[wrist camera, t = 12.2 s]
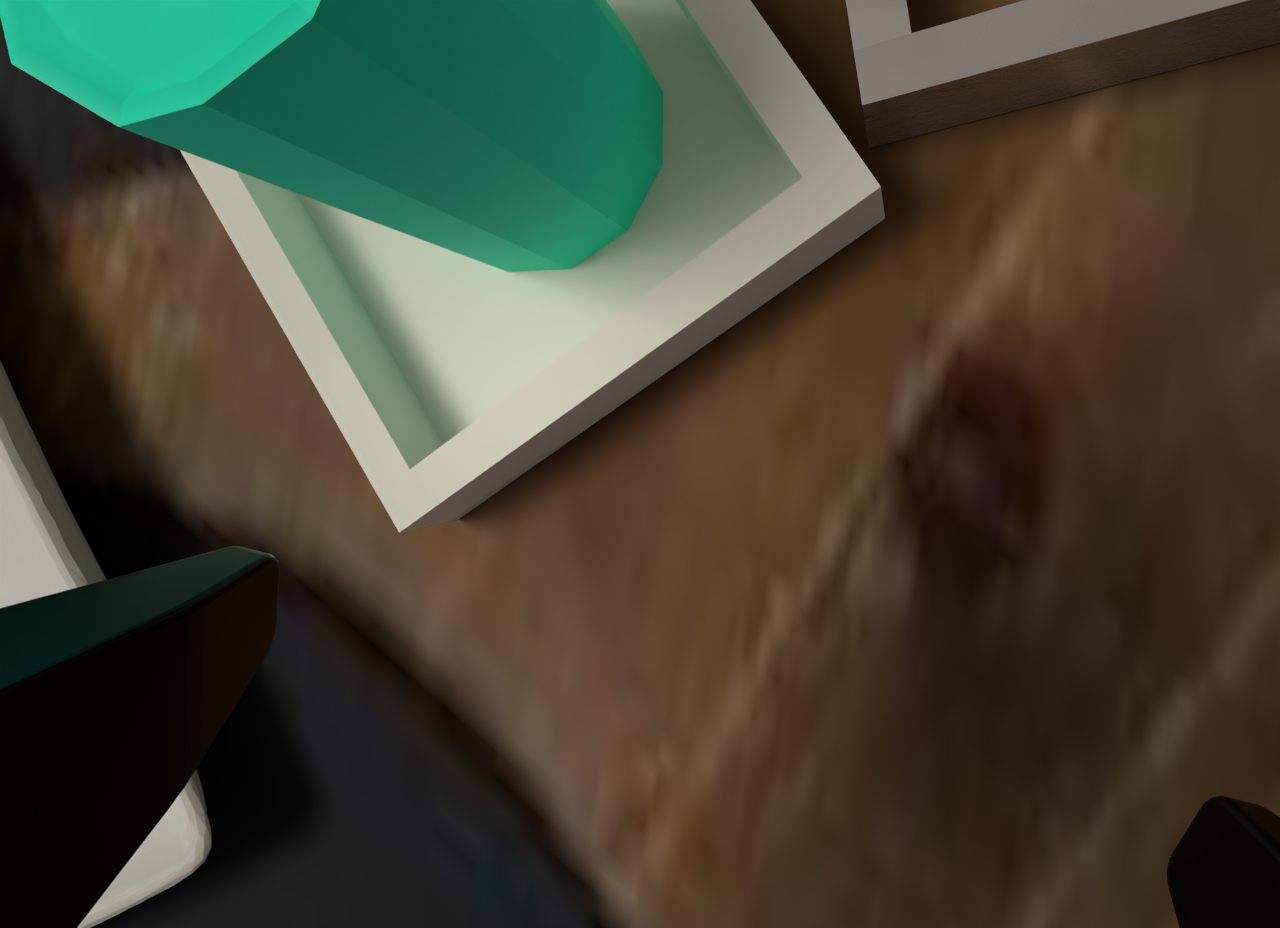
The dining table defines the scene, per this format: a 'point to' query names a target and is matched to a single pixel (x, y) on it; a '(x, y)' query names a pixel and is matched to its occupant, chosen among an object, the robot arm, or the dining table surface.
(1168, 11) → the steel collar
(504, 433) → the tray
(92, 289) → the dining table surface
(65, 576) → the square plate
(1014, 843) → the dining table surface
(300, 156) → the candle
